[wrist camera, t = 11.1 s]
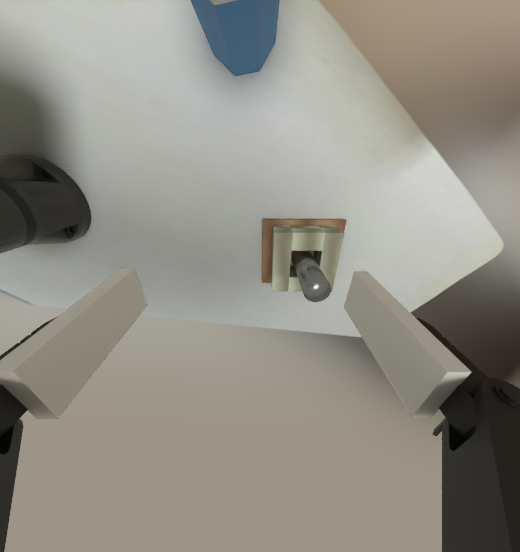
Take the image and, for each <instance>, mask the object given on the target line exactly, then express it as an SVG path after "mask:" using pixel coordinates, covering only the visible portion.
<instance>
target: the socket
mask: <svg viewBox="0 0 520 552" xmlns="http://www.w3.org/2000/svg"><path fill="white" fill-rule="evenodd" d="M345 225H346V220H345V219H263V242H262V283H271V284H272V291H302V288H301V285H300V282H299V279H298V276H297V273H296V270H295V267H294V265H293V262H292V259H291V252H292V251H310V252H311V254H312V255H313V257H314V259H315V260H316V262H317V263H318V265H319V267H320V268H321V270H322V272H323V273H324V275H325V277H326V278H327V280H328V282H329V283H330V285H331V292H332V288H333V283H334V279H335V274H336V270H337V265H338V260H339V256H340V251H341V246H342V242H343V237H344V229H345Z"/></svg>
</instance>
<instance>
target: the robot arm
mask: <svg viewBox="0 0 520 552" xmlns="http://www.w3.org/2000/svg"><path fill="white" fill-rule="evenodd" d="M89 224H90V211H89V207H88V204H87V201H86V199H85V197H84V195H83V193H82V192H81V190H80V189H79V187H78V186H77V185H76V184H75V182H74V181H73V180H72V179H71V178H70V177H69V176H68V175H67V174H66V173H64V172H63V171H62V170H61V169H59V168H58V167H56V166H55V165H53V164H51V163H50V162H48V161H46V160H43V159H41V158H38V157H34V156H26V155H6V156H1V157H0V253H3V252H6V251H9V250H12V249H15V248H18V247H21V246H24V245H28V244H54V243H65V242H69V241H72V240H74V239H77V238H79V237H81V236H82V235H84V234H85V233H86V231H87V230H88V227H89ZM146 306H147V302H146V299H145V296H144V293H143V290H142V287H141V284H140V281H139V278H138V275H137V272H136V269H135V268H121V269H120V270H119V271H117V272H116V273H115V274H113V275H112V276H111V277H110V278H108V279H107V280H106V281H104V282H103V283H102V284H100V285H99V286H98V287H96V288H95V289H94V290H92V291H91V292H90V293H88V294H87V295H86V296H84V297H83V298H82V299H80V300H79V301H78V302H76V303H75V304H74V305H73V306H71V307H70V308H69V309H67V310H66V311H65V312H63V313H62V314H61V315H59V316H58V317H56V318H54V319H52V320H50V321H48V322H46V323H45V324H43V325H42V326H40V327H39V328H37V329H36V330H35V331H33V332H32V333H31V335H28V336H27V337H26V338H24V339H23V340H21V341H20V343H17V344H16V345H15V346H13V347H12V348H10V349H9V350H8V351H6V352H5V353H4V354H2V355H1V356H0V552H4V549H5V543H6V536H7V529H8V523H9V516H10V510H11V503H12V496H13V489H14V483H15V476H16V470H17V464H18V457H19V451H20V444H21V437H22V431H23V423H22V420H20V419H19V418H20V417H21V416H22V415H23V414H24V413H25V412H26V411H27V410H28V411H29V412H31V414H33V415H34V416H35V417H36V418H37V419H52V418H54V419H55V418H56V419H58V418H59V417H60V416H61V414H62V413H63V412H64V411H65V409H66V408H67V407H68V406H69V404H70V403H71V402H72V400H73V399H74V398H75V397H76V395H77V394H78V393H79V392H80V390H81V389H82V388H83V386H84V385H85V384H86V383H87V381H88V380H89V379H90V378H91V376H92V375H93V374H94V373H95V371H96V370H97V369H98V367H99V366H100V365H101V364H102V362H103V361H104V360H105V359H106V357H107V356H108V355H109V353H110V352H111V351H112V349H113V348H114V347H115V346H116V344H117V343H118V342H119V341H120V339H121V338H122V337H123V336H124V334H125V333H126V332H127V330H128V329H129V328H130V327H131V325H132V324H133V323H134V322H135V320H136V319H137V318H138V317H139V315H140V314H141V313H142V312H143V310H144V309H145V308H146ZM344 308H345V310H346V311H347V313H348V315H349V316H350V318H351V320H352V321H353V323H354V325H355V326H356V328H357V329H358V331H359V333H360V334H361V336H362V338H363V339H364V341H365V342H366V344H367V346H368V347H369V349H370V350H371V352H372V354H373V355H374V357H375V359H376V360H377V362H378V364H379V365H380V367H381V369H382V370H383V372H384V373H385V375H386V377H387V378H388V380H389V382H390V383H391V385H392V386H393V388H394V390H395V391H396V393H397V394H398V396H399V398H400V399H401V401H402V403H403V404H404V406H405V408H406V409H407V411H408V413H409V414H410V415H411V417H432V416H433V415H434V413H436V412H437V410H438V409H440V410H441V411H442V413H443V414H444V416H445V417H446V418H445V419H444V420H443V421H442V422H441V423H440V424H439V425H438V426H437V427H436V428H435V429H434V432H433V435H435V436H437V435H438V434H439V433H440V432H441V431H442V552H520V389H519V388H518V387H516V386H514V385H512V384H510V383H508V382H506V381H503V380H500V379H497V378H489V377H487V376H486V375H485V374H484V373H483V372H482V371H480V369H478V368H477V367H476V366H475V365H474V364H473V363H472V362H471V361H470V360H469V359H468V358H466V357H465V356H464V355H463V354H462V353H461V352H460V351H459V350H458V349H457V348H456V347H454V346H453V345H451V344H450V342H449V341H448V340H447V339H446V338H445V337H442V335H441V334H440V333H439V332H438V331H437V330H436V329H435V328H434V327H432V326H431V325H430V324H428V323H426V322H425V321H423V320H421V319H420V318H415V317H414V316H413V315H411V313H410V312H409V311H408V310H407V309H406V308H405V307H404V306H402V305H401V304H400V303H399V302H398V301H397V300H396V299H395V298H394V297H393V296H392V295H391V294H390V293H389V292H388V291H387V290H386V289H385V288H384V287H383V286H382V285H381V284H380V283H379V282H377V281H376V280H375V279H374V278H373V277H372V276H371V275H370V274H369V273H368V272H367V271H354V274H353V278H352V281H351V285H350V288H349V291H348V295H347V298H346V301H345V305H344Z"/></svg>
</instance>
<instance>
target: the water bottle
mask: <svg viewBox="0 0 520 552" xmlns="http://www.w3.org/2000/svg"><path fill="white" fill-rule="evenodd" d="M191 2H192V5H193V7H194V9H195V12H196V14H197V16H198V19H199V21H200V23H201V26H202V28H203V30H204V33H205V35H206V37H207V40H208V42H209V44H210V47H211V49H212V51H213V54H214V55H215V56H216V57H217V58H218V59H219V60H220V61H221V62H222V63H223V64H224V65H225V66H226V67H227V68H228V69H229V70H230V71H231V72H232V73H233V74H234V75H235V76H237V75H242V74H247V73H252V72H257V71H260V69H261V68H262V66H263V64H264V62H265V60H266V58H267V56H268V55H269V53H270V51H271V49H272V47H273V45H274V44H275V40H276V29H277V19H278V9H279V0H191Z"/></svg>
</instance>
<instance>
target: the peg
mask: <svg viewBox="0 0 520 552" xmlns="http://www.w3.org/2000/svg"><path fill="white" fill-rule="evenodd" d="M291 259H292V262H293V265H294V267H295V270H296V273H297V276H298V279H299V282H300V285H301V288H302V291H303V293H304V296H305V298H306V299H308V300H309V301H312V302H319V301H322V300H324V299H326V298H327V297H328V296H329V294H330V292H331V285H330V283H329V282H328V280H327V278H326V277H325V275H324V273H323V272H322V270H321V268H320V267H319V265H318V263H317V262H316V260H315V259H314V257H313V255H312V254H311V252H310V251H292V252H291Z"/></svg>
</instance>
